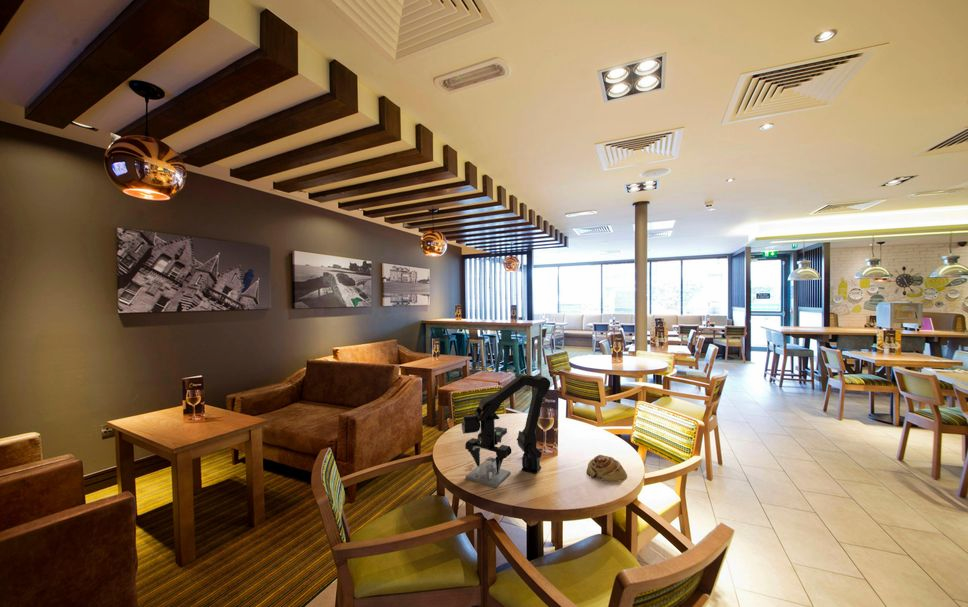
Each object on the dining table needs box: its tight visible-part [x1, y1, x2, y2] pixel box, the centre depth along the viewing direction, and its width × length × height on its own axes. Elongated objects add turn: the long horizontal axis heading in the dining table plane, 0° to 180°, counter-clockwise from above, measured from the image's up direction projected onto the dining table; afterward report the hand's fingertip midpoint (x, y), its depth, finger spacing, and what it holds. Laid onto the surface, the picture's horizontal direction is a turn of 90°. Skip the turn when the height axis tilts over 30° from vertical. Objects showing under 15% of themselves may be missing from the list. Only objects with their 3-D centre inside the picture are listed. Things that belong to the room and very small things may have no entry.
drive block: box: [480, 456, 496, 479], centre depth 138 cm, size 3×8×5 cm, turn 149°
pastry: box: [586, 454, 628, 482], centre depth 139 cm, size 13×15×8 cm
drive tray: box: [465, 466, 511, 488], centre depth 138 cm, size 14×12×4 cm
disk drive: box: [477, 426, 508, 440], centre depth 181 cm, size 10×3×15 cm
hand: (488, 468), depth 138 cm, fingers open, 9 cm apart
